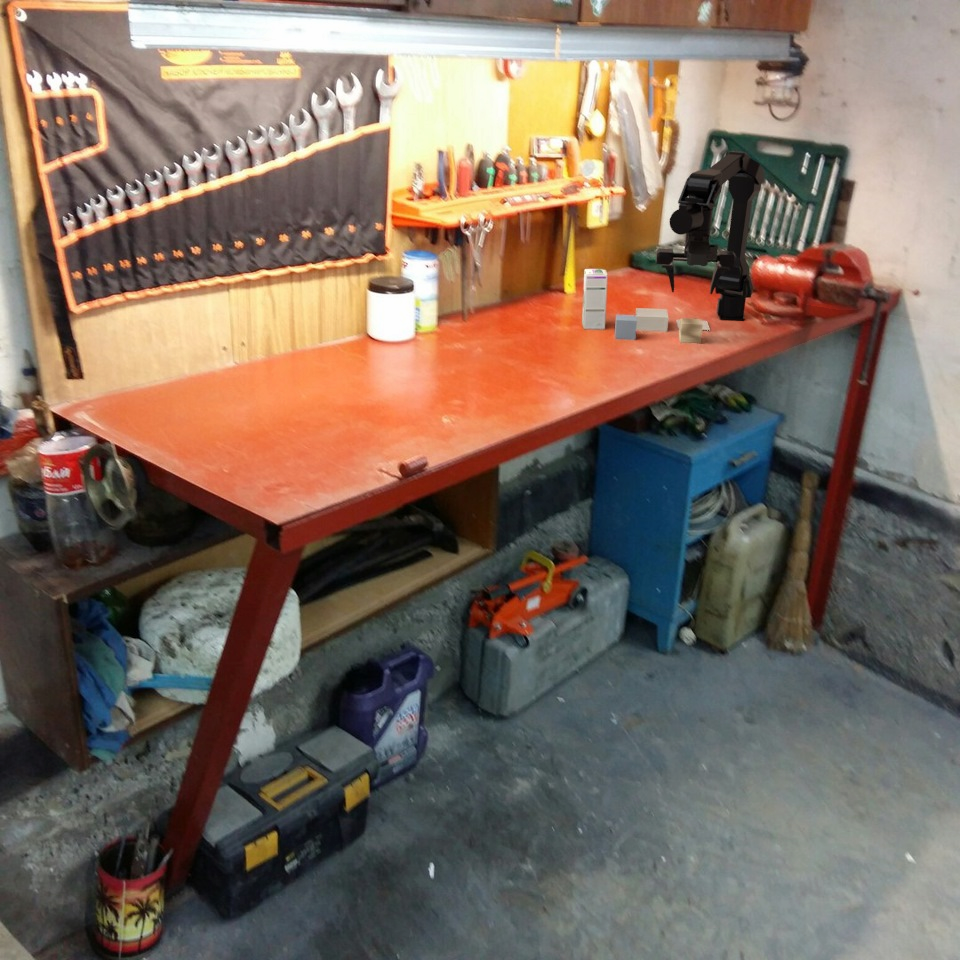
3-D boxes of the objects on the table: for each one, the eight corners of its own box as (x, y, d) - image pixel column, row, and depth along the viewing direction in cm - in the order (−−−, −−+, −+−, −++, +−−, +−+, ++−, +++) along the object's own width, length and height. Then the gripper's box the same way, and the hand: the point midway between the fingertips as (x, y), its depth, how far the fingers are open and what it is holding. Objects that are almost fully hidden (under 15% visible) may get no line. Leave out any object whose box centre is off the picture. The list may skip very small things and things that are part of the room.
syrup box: (605, 329, 253) (609, 273, 247) (582, 329, 253) (585, 273, 247) (603, 323, 258) (607, 268, 252) (580, 323, 258) (583, 268, 252)
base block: (665, 324, 260) (666, 309, 258) (667, 332, 252) (668, 317, 251) (634, 322, 260) (636, 308, 259) (635, 331, 253) (636, 316, 252)
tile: (706, 322, 260) (706, 320, 260) (710, 331, 253) (710, 328, 253) (676, 321, 261) (676, 318, 261) (678, 329, 254) (678, 327, 254)
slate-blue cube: (634, 334, 250) (636, 315, 248) (635, 340, 246) (636, 320, 243) (614, 333, 250) (616, 314, 248) (615, 339, 246) (616, 320, 244)
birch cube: (698, 338, 248) (700, 318, 246) (700, 344, 243) (702, 324, 241) (678, 337, 248) (680, 318, 246) (680, 343, 244) (682, 323, 242)
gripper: (659, 233, 228) (654, 299, 235) (742, 236, 226) (733, 303, 232) (658, 224, 238) (653, 288, 245) (737, 227, 236) (729, 291, 242)
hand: (691, 292), depth 241 cm, fingers open, 9 cm apart
